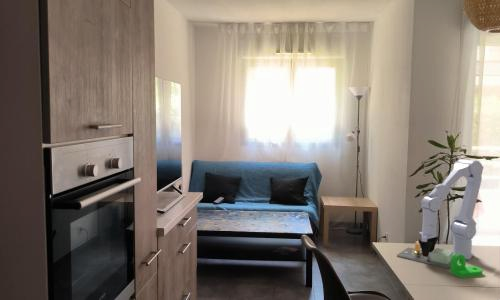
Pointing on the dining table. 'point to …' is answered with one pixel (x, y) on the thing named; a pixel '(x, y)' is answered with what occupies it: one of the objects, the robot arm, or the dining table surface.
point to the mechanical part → (463, 267)
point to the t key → (417, 246)
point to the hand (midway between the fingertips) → (428, 254)
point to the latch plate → (420, 257)
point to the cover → (441, 255)
